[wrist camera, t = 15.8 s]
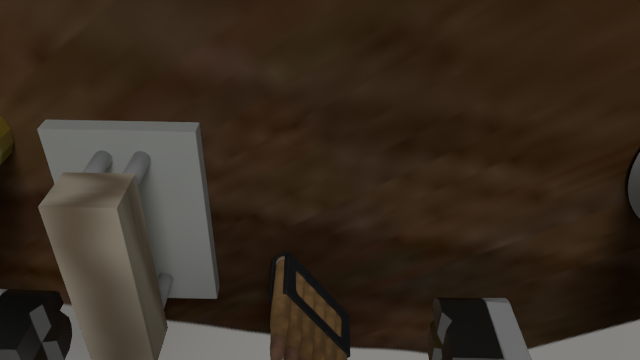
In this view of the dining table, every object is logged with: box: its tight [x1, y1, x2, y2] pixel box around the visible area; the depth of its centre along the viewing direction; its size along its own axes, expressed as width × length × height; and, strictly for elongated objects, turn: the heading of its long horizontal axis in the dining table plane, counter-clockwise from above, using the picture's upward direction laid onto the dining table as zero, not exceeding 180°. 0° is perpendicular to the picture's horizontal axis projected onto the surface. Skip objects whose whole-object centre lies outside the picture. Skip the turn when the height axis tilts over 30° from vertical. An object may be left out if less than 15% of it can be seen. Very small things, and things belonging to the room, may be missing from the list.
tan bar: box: [38, 172, 168, 360], centre depth 40 cm, size 5×16×4 cm, turn 179°
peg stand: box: [37, 120, 220, 308], centre depth 45 cm, size 12×18×6 cm, turn 179°
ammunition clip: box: [269, 251, 350, 360], centre depth 47 cm, size 11×2×12 cm, turn 34°
